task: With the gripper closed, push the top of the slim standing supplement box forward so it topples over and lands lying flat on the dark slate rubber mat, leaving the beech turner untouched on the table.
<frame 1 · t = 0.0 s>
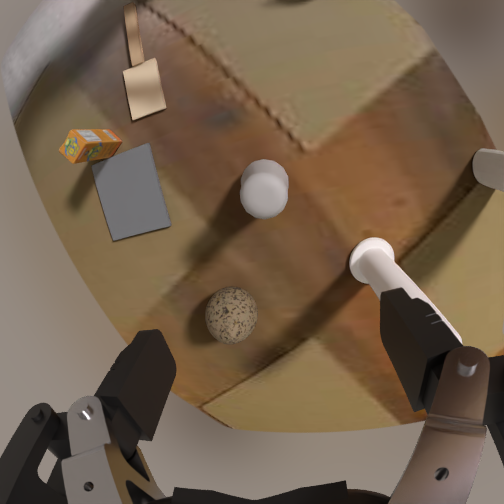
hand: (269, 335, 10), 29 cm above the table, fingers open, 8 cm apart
decorative egg: (235, 297, 43), on the table
paper towel roll: (483, 169, 33), on the table
salt shaker: (265, 180, 37), on the table
mat: (129, 193, 38), on the table
candle: (371, 259, 40), on the table
supplement box: (111, 143, 35), on the table
turner: (140, 65, 31), on the table
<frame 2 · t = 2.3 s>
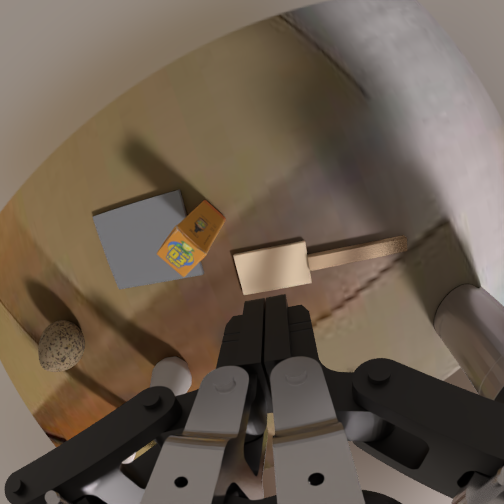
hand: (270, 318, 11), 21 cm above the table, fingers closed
decorative egg: (76, 329, 39), on the table
salt shaker: (176, 365, 39), on the table
mat: (146, 243, 32), on the table
supplement box: (206, 219, 31), on the table
turner: (307, 261, 32), on the table
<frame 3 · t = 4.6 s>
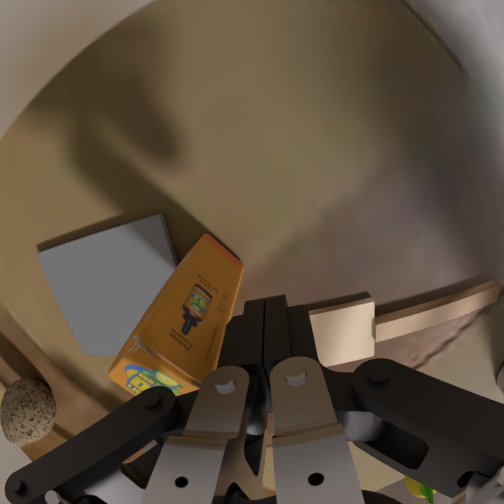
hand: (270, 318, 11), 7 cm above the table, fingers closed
decorative egg: (45, 386, 26), on the table
mat: (114, 297, 19), on the table
lemon: (418, 455, 27), on the table
supplement box: (210, 265, 18), on the table, touching gripper
turner: (372, 325, 19), on the table
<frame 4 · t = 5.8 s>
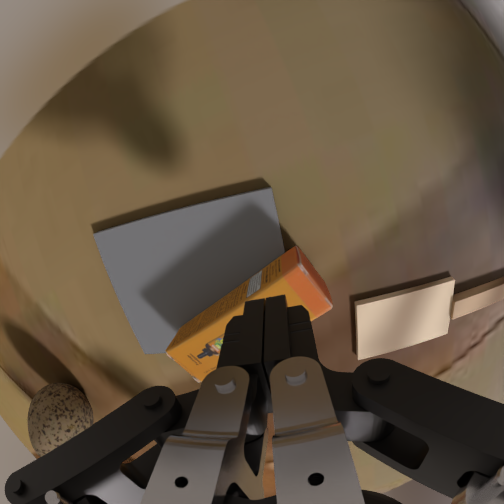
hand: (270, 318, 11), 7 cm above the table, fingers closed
decorative egg: (78, 391, 25), on the table
mat: (196, 283, 18), on the table
supplement box: (318, 270, 15), point 2 cm above the table, touching mat
turner: (447, 304, 18), on the table
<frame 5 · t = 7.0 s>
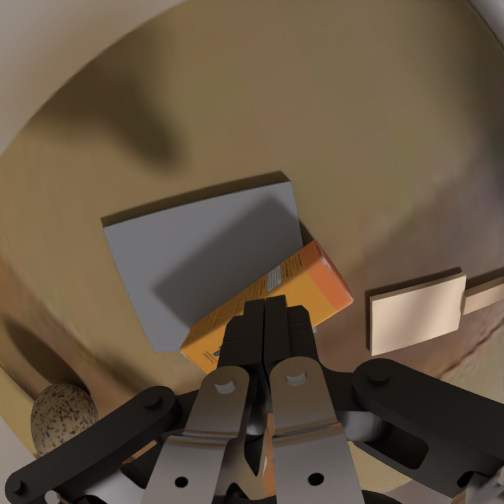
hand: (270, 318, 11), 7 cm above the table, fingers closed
decorative egg: (82, 391, 24), on the table
mat: (210, 279, 18), on the table
supplement box: (337, 265, 15), point 2 cm above the table, touching mat
turner: (458, 300, 18), on the table
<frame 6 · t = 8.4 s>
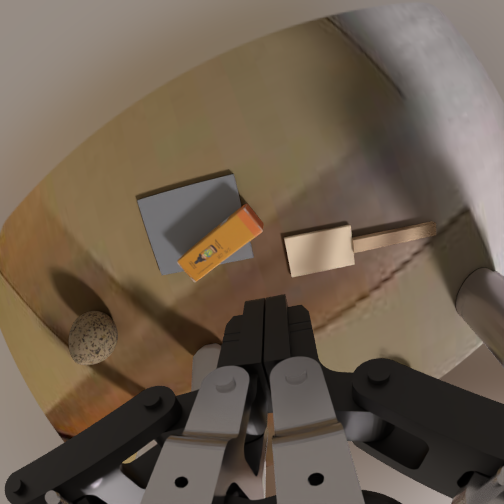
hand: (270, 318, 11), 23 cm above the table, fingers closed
decorative egg: (106, 320, 40), on the table
salt shaker: (215, 352, 41), on the table
mat: (194, 226, 34), on the table
supplement box: (256, 214, 31), point 2 cm above the table, touching mat
turner: (351, 243, 34), on the table
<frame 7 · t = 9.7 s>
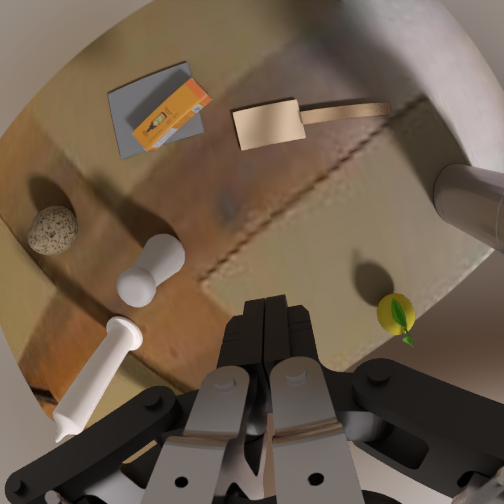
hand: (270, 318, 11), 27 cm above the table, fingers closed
decorative egg: (71, 221, 39), on the table
salt shaker: (170, 248, 39), on the table
mat: (153, 110, 32), on the table
candle: (125, 331, 45), on the table
lemon: (387, 300, 40), on the table
supplement box: (204, 87, 29), point 2 cm above the table, touching mat
turner: (300, 118, 32), on the table
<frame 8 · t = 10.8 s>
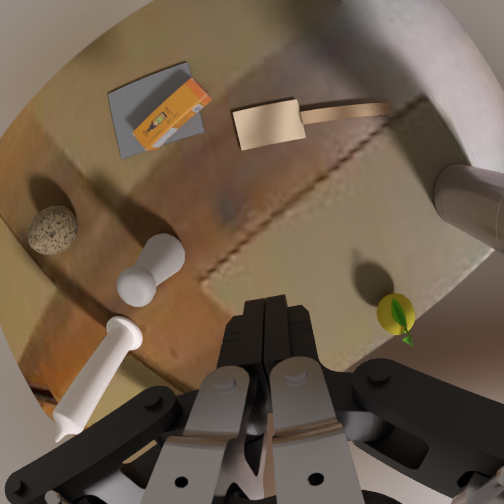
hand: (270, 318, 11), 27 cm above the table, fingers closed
decorative egg: (71, 221, 39), on the table
salt shaker: (170, 248, 39), on the table
mat: (153, 110, 32), on the table
candle: (125, 331, 45), on the table
lemon: (387, 300, 40), on the table
supplement box: (204, 87, 29), point 2 cm above the table, touching mat
turner: (300, 118, 32), on the table
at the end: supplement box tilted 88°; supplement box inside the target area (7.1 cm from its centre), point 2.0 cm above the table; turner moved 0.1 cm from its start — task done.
